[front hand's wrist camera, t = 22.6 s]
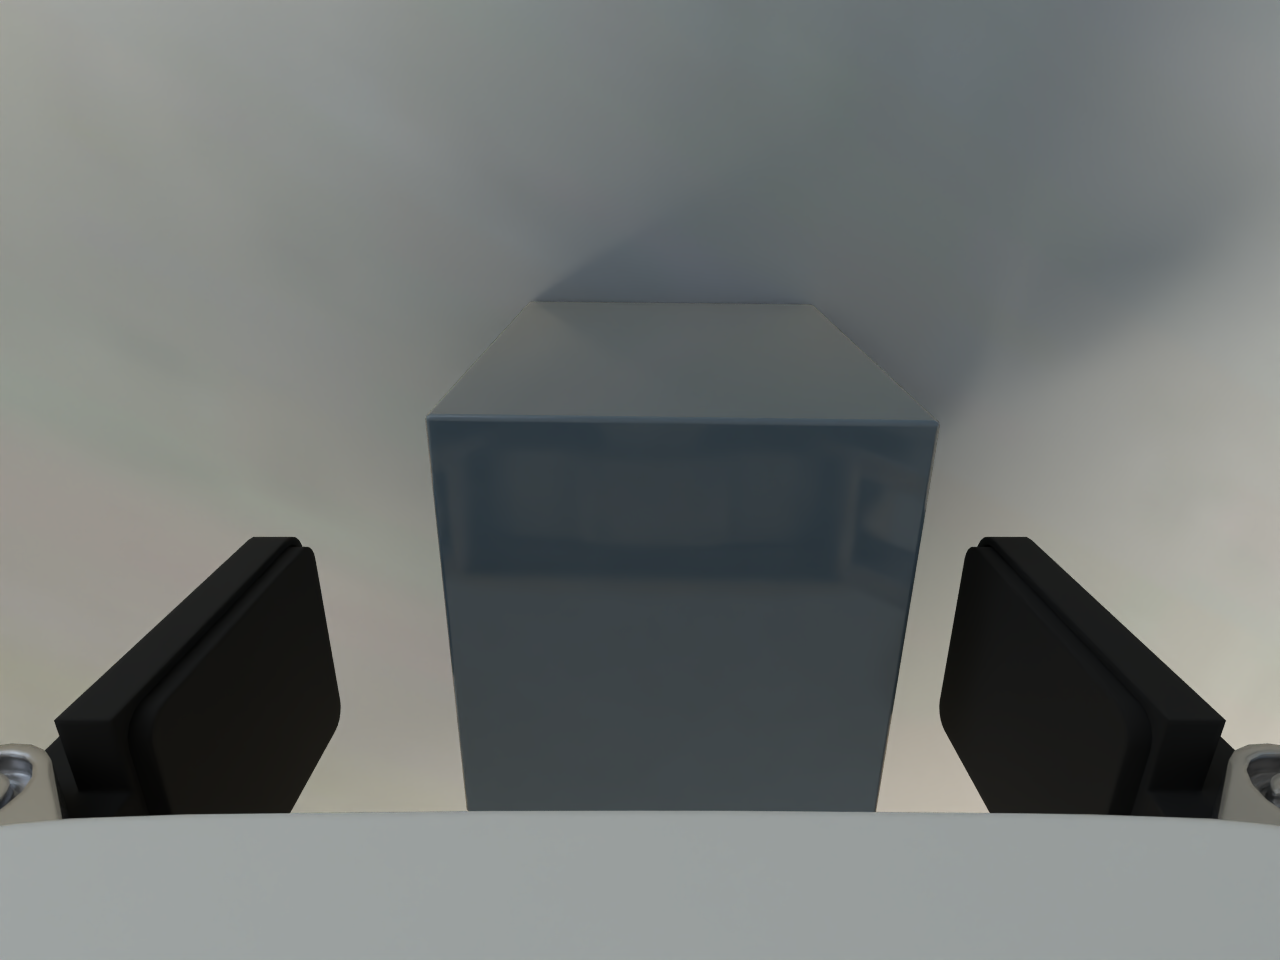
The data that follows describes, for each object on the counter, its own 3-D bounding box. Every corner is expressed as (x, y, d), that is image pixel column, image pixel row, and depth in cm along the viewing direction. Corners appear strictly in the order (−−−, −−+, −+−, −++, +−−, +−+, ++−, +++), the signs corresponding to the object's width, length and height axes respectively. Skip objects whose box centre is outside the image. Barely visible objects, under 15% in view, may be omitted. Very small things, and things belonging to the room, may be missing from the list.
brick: (813, 303, 16) (942, 422, 9) (789, 561, 18) (875, 823, 11) (529, 300, 16) (423, 414, 9) (541, 557, 18) (465, 814, 11)
